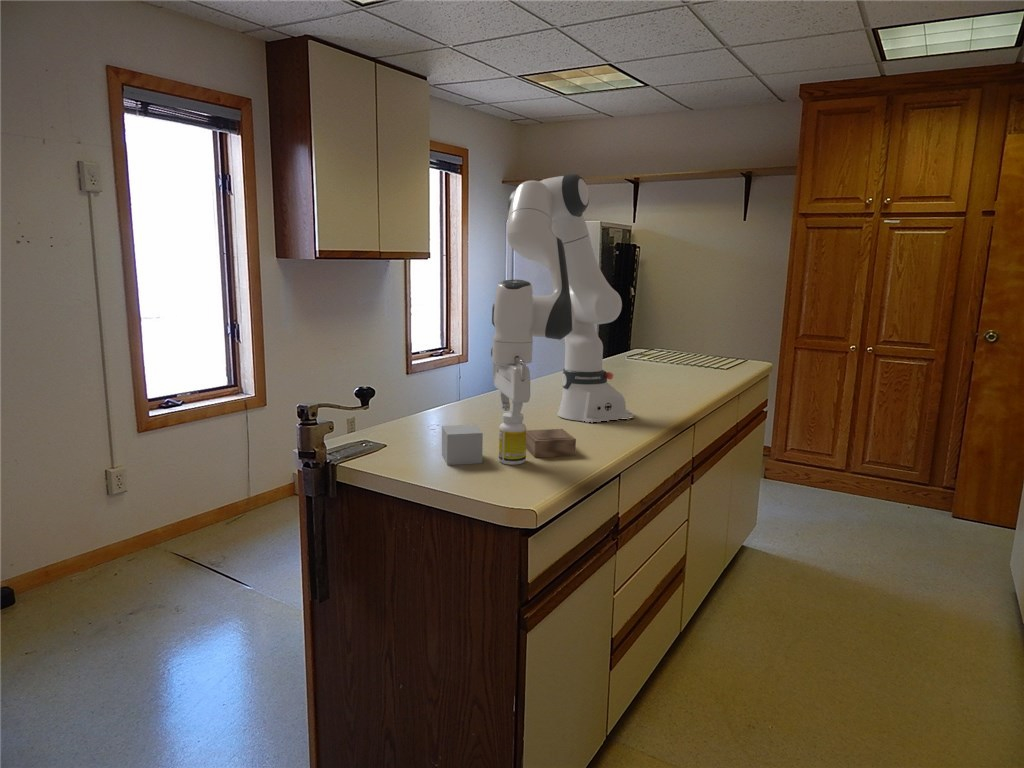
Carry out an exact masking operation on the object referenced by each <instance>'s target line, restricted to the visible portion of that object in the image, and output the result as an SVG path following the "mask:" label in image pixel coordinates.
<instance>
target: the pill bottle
mask: <svg viewBox="0 0 1024 768" xmlns="http://www.w3.org/2000/svg"><path fill="white" fill-rule="evenodd" d="M523 421H524V414H523V413H521V412H520V419H519V420H513V419H512V418H511V411H509V412H505V413H502V422H503V423H501V424H499V428H498V460H499V463H501V464H504V465H508V466H515V465H521V464H524V463H525V462H526V459H527V449H526V430H527V426H526V425H525V423H523Z"/></svg>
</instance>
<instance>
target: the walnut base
mask: <svg viewBox="0 0 1024 768" xmlns="http://www.w3.org/2000/svg"><path fill="white" fill-rule="evenodd" d="M576 443H577V439H576V438H575V437H574V436H573V435H571V434H570V433H568V432H567V431H566V430H565V429H564V428H553V429H552V428H550V429H548V428H547V429H529V430H528V429H526V451H528V453H530V455H532V457H534V458H551V457H570V456H572V455H573V456H576V449H577V448H576V446H577V444H576Z"/></svg>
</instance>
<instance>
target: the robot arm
mask: <svg viewBox="0 0 1024 768" xmlns="http://www.w3.org/2000/svg"><path fill="white" fill-rule="evenodd" d="M589 193H590V192H589V188H588V185H587V183H586V180H585V178H584V177H582V176H581V175H580V174H577V173H567V174H564V175H559V176H554V177H548V178H544V179H542V180H540V181H539V180H534V179H533V180H532V179H531V180H526V181H523V182H521V183H520V184H519V185H518V186H517V187H516V188H515V189H514V190H513V191H512V192H511V193H510V195H509V197H508V201H507V207H508V208H507V209H508V216H507V222H506V223H507V224H506V239H507V241H508V244H509V245H510V247H511V248H512V250H514V252H516V253H517V254H518V255H520V256H521V257H523V258H525V259H528V260H531V261H533V262H536V263H539V264H541V265H543V266H544V267H546V268H547V269H548V270H549V272H550V275H551V282H552V283H551V284H552V293H551V294H549V295H539V294H538V295H537V294H534V292H533V285H532V283H531V282H530V281H527V280H522V279H507V280H506V279H505V280H502V281H501V282H498V284H497V287H496V293H495V300H494V303H493V304H492V311H491V324H492V326H493V327H494V334H493V337H492V347H491V348H490V357H491V360H492V376H493V379H492V380H493V384H494V387H495V388H496V389H497V390H498V391H499V397H500V409H501V410H502V411H504V412H505V411H506V412H511V418H512V419H513V420H519V419H520V413H521V412H522V409H523V403H525V404H526V403H529V402H530V399H531V371H530V368H529V367H528V366H527V364H531V363H532V362H533V345H534V344H533V342H534V340H533V339H534V338H546V339H552V340H558V341H559V340H562V339H564V368H563V370H562V379H561V381H562V394H561V395H562V396H561V400H560V401H561V402H560V405H559V408H558V411H557V416H559V418H563V419H565V420H571V421H580V422H584V421H585V423H589V422H591V423H590V424H594V423H593V422H597V423H602V422H601V421H607V422H610V421H609V420H616V419H622V418H629V417H633V418H634V414H633V412H631V410H627V405H626V399H625V396H624V394H622V393H621V392H619V391H618V390H617V389H616V388H614V386H612V384H610V383H609V382H608V380H610V381H611V380H613V379H614V373H613V372H610V371H606V370H604V369H603V358H604V357H603V356H604V355H603V354H604V345H603V342H602V340H601V339H600V337H599V336H598V334H597V331H596V326H595V325H604V324H609V323H610V324H611V323H613V322H614V321H616V320H617V319H618V317H619V316H620V314H621V312H622V308H623V302H622V298H621V296H620V294H619V292H618V291H616V290H615V289H614V288H613V287H612V286H611V285H610V283H609V282H608V280H607V279H606V277H605V275H604V274H603V272H602V270H601V268H600V266H599V264H598V262H597V260H596V257H595V253H594V249H593V245H592V241H591V237H590V233H589V230H588V226H587V225H588V224H587V222H586V220H585V216H584V214H583V213H584V212H586V210H587V208H588V205H589V201H590V194H589ZM510 401H511V403H510ZM510 409H511V411H510Z"/></svg>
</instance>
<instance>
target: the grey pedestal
mask: <svg viewBox="0 0 1024 768" xmlns="http://www.w3.org/2000/svg"><path fill="white" fill-rule="evenodd" d="M483 435H484V433H483V431H482V430H481V429H480V428H479V427H478V426H477V424H462V425H461V424H460V425H459V424H458V425H442V426H441V456H442V458H443V460H444V462H445V464H446V466H451V465H456V466H457V465H470V464H471V465H473V464H483V443H484V442H483V437H484V436H483Z"/></svg>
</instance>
